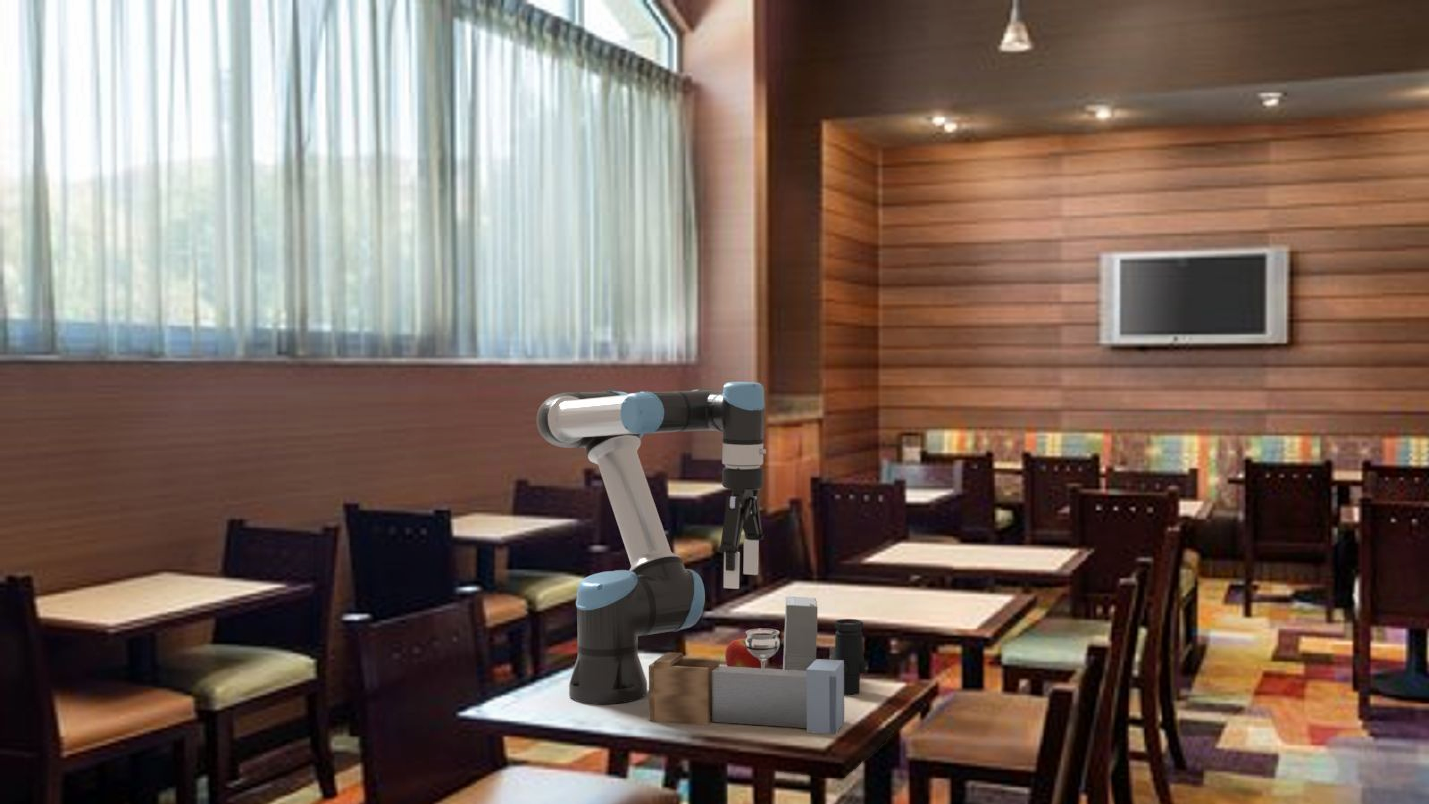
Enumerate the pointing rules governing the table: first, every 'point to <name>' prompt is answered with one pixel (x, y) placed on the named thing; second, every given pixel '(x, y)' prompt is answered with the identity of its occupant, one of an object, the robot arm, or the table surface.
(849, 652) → the scope
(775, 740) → the table surface
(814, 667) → the blue-grey upright rectangular block
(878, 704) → the table surface
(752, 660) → the apple
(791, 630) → the skincare box
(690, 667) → the brown wooden box
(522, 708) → the table surface
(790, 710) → the grey rectangular box
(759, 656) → the wineglass
